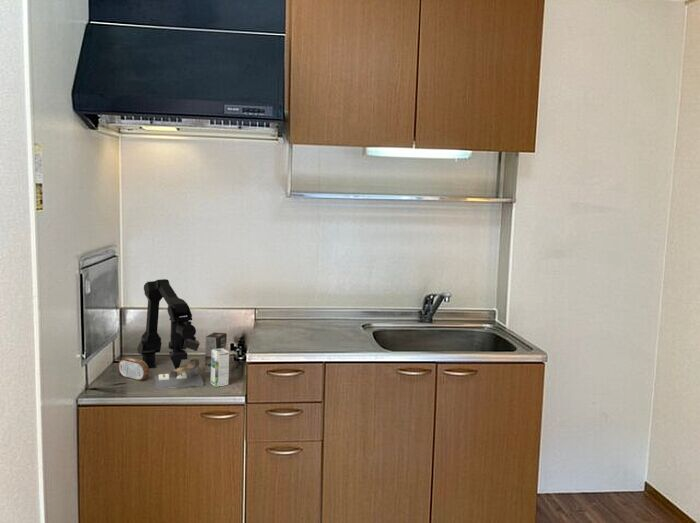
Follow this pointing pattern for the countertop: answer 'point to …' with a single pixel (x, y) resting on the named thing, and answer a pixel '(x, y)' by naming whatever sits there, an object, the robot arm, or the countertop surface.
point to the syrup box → (219, 367)
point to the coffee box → (213, 347)
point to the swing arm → (184, 368)
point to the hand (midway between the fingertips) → (177, 370)
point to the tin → (133, 368)
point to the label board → (179, 379)
